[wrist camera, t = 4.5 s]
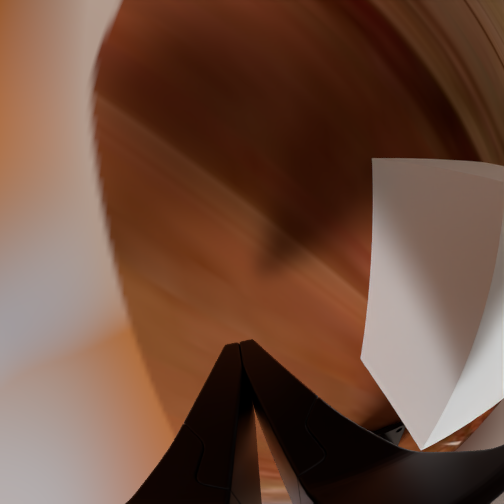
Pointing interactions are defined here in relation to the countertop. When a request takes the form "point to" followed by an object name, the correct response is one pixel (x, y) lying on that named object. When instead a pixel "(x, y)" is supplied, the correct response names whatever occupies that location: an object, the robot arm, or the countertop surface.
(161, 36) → the countertop surface
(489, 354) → the block
